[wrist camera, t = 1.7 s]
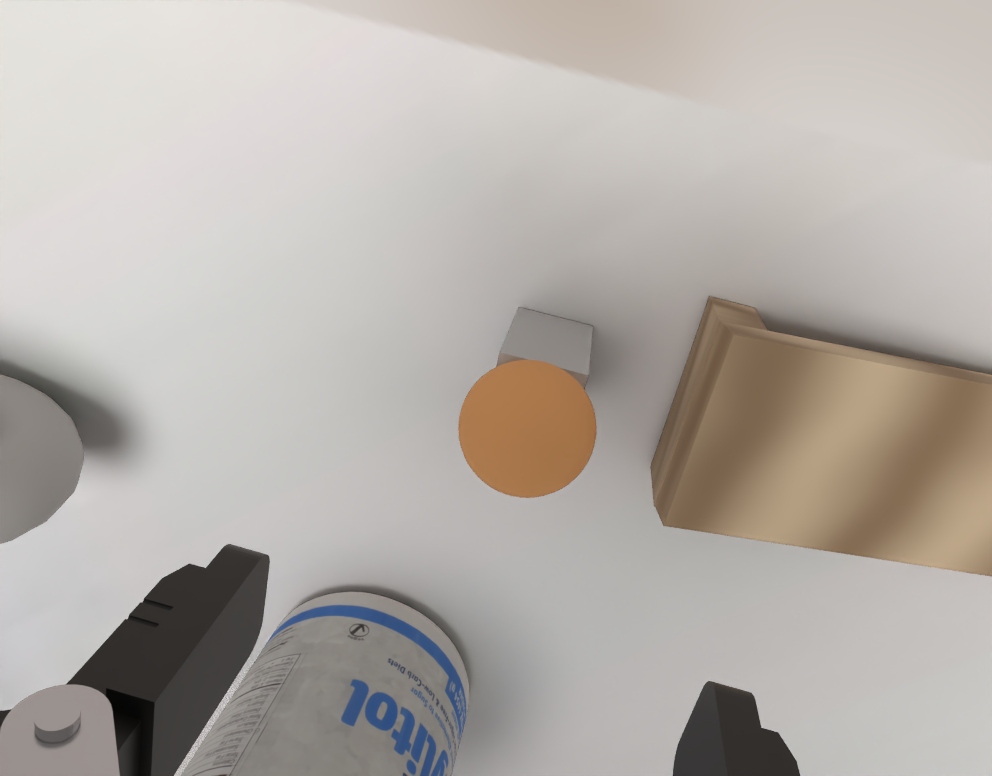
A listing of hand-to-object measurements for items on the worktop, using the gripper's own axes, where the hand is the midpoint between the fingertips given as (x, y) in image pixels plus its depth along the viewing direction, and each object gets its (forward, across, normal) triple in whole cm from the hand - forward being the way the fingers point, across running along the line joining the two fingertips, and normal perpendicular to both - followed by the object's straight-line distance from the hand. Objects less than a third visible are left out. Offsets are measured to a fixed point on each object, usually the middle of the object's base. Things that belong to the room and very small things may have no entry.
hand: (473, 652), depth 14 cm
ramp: (+16, -12, 0) cm, 20 cm away
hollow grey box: (+16, 0, 0) cm, 16 cm away
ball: (+12, 0, 0) cm, 12 cm away
